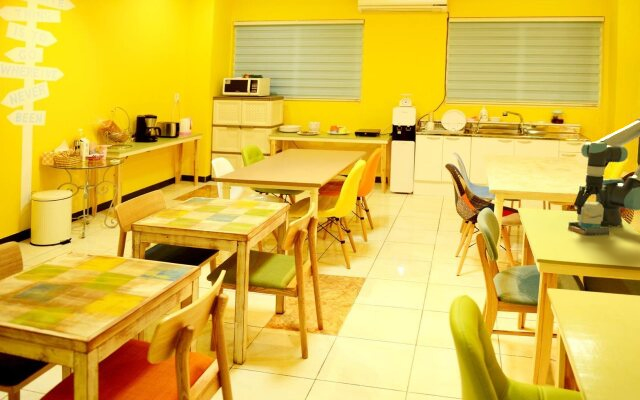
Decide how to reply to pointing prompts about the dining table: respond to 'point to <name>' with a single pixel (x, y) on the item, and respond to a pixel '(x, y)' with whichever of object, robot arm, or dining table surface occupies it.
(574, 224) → the grey and orange tray
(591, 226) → the ink box
